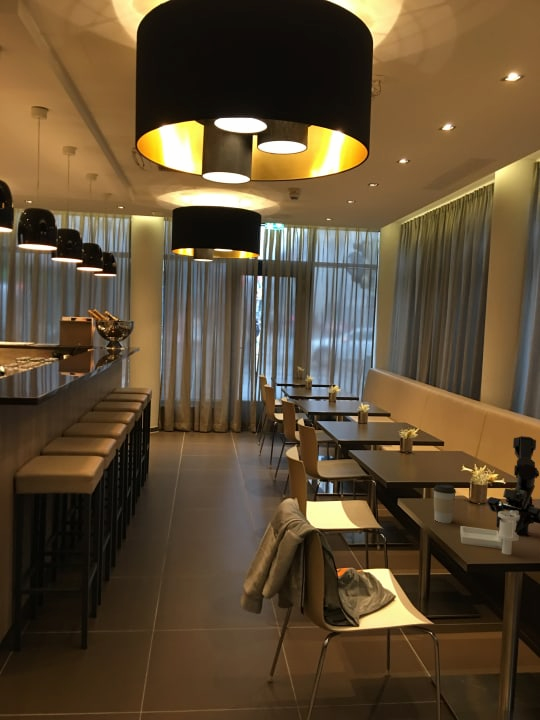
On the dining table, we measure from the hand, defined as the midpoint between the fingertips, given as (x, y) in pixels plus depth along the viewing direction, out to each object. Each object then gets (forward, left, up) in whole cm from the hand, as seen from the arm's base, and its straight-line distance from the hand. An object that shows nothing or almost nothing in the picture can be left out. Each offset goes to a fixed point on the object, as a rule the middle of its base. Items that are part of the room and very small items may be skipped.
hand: (506, 529), depth 203 cm
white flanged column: (-1, +1, -9) cm, 9 cm away
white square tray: (-12, -7, -9) cm, 17 cm away
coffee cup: (-32, -20, -9) cm, 39 cm away
